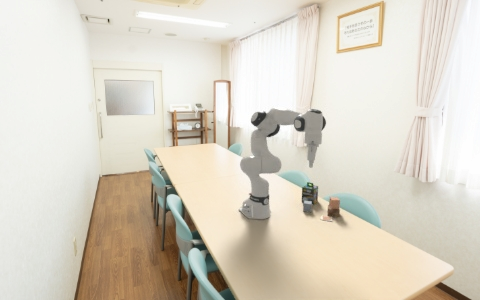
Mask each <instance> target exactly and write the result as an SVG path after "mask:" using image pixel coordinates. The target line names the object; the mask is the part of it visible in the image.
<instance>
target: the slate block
mask: <svg viewBox="0 0 480 300" xmlns="http://www.w3.org/2000/svg"><path fill="white" fill-rule="evenodd" d="M312 206H313V205H312V201H305V200H304V202H303V206H302V212H303V213H312V208H313V207H312Z"/></svg>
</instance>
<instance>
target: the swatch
mask: <svg viewBox="0 0 480 300" xmlns="http://www.w3.org/2000/svg"><path fill="white" fill-rule="evenodd" d="M320 221H324V222H326V221H327V222H331V223H333V217H332V216H328V215H320Z"/></svg>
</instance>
